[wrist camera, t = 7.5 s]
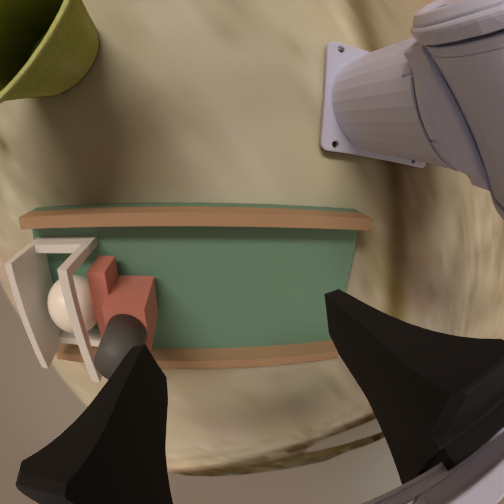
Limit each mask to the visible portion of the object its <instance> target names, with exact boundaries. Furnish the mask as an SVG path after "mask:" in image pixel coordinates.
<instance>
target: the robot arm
mask: <svg viewBox="0 0 504 504" xmlns="http://www.w3.org/2000/svg"><path fill="white" fill-rule="evenodd" d="M411 33H412V34H413V36H414V37H413V38H410V39H407V40H404V41H401V42H398V43H395V44H392V45H389V46H387V47H384V48H381V49H378V50H376V51H373V52H368V51H365V50H362V49H358V48H355V47H352V46H348V45H345V44H341V43H338V42H333V41H332V42H329V43H328V44H327V45H326V56H325V77H324V95H323V109H322V122H321V134H320V146H321V148H322V149H323V150H326V151H333V152H340V153H346V154H352V155H358V156H364V157H370V158H375V159H381V160H386V161H391V162H395V163H400V164H405V165H409V166H414V167H418V168H424V167H425V165H426V163H428V164H433V165H437V166H441V167H445V168H449V169H452V170H456V171H460V172H462V173H464V174H466V175H467V176H468V178H469V179H470V181H471V183H472V185H474V186H477V187H480V188H483V189H486V190H489V191H490V194H491V197H492V201H493V204H494V206H495V208H496V210H497V212H498V214H499V215H500V216H501V218H502V219H503V220H504V0H436V1H434V2H432V3H430V4H428V5H426V6H425V7H423V8H421V9H420V10H418V11H417V12H416V13H415V14H414V21H413V26H412V28H411ZM338 47H339V48H341V49H342V53H341V52H339V50H338ZM333 141H335V142H336V144H337V145H336V147H335V148H333V146H332V142H333ZM411 160H413V161H412V162H411ZM324 296H325V304H326V312H327V321H328V330H329V335H330V337H331V339H332V341H333V343H334V345H335V347H336V349H337V351H338V353H339V355H340V357H341V358H342V360H343V361H344V363H345V364H346V366H347V368H348V369H349V371H350V372H351V374H352V375H353V377H354V378H355V380H356V381H357V383H358V385H359V386H360V388H361V389H362V391H363V392H364V394H365V396H366V398H367V399H368V401H369V403H370V405H371V407H372V409H373V411H374V414H375V416H376V418H377V420H378V422H379V424H380V427H381V429H382V431H383V434H384V436H385V438H386V441H387V443H388V445H389V448H390V451H391V453H392V456H393V459H394V462H395V464H396V467H397V470H398V473H399V476H400V479H401V483H402V485H401V486H400V487H397V488H395V489H393V490H391V491H389V492H387V493H385V494H383V495H381V496H379V497H376V498H374V499H372V500H370V501H367V502H365V503H362V504H407V503H409V502H411V501H413V500H414V499H415V500H414V501H413V503H412V504H496V503H497V502H499V501H500V500H501V499H502V497H504V340H503V339H477V338H468V337H460V336H454V335H448V334H444V333H439V332H435V331H431V330H428V329H424V328H421V327H418V326H415V325H412V324H409V323H406V322H404V321H401V320H399V319H397V318H394V317H392V316H390V315H387V314H385V313H383V312H381V311H379V310H377V309H375V308H373V307H371V306H369V305H367V304H365V303H363V302H362V301H360V300H358V299H356V298H354V297H352V296H351V295H349V294H347V293H345V292H343V291H342V290H340V289H337V290H334V291H332V292H329V293H326V294H324ZM167 406H168V393H167V379H166V376H165V375H164V373H163V372H162V370H161V369H160V367H159V365H158V364H157V362H156V361H155V359H154V357H153V356H152V354H151V353H150V351H149V349H148V348H147V346H146V344H143V345H138V346H134V347H132V348H131V349H130V350H129V352H128V353H127V354H126V356H125V357H124V358H123V360H122V361H121V363H120V364H119V366H118V367H117V368H116V370H115V371H114V373H113V374H112V376H111V377H110V378H109V380H108V381H107V383H106V384H105V386H104V387H103V388H102V389H101V391H100V392H99V393H98V395H97V396H96V397H95V399H94V400H93V401H92V403H91V404H90V405H89V406H88V407H87V409H86V410H85V411H84V412H83V413H82V414H81V415H80V416H79V417H78V419H77V420H76V421H75V422H74V423H73V424H72V425H70V426H69V427H68V428H67V429H66V430H65V431H64V432H63V433H62V434H61V435H60V436H58V437H57V438H56V439H55V440H54V441H52V442H51V443H50V444H48V445H47V446H46V447H44V448H43V449H41V450H40V451H38V452H37V453H35V454H33V455H32V456H30V457H28V458H27V459H25V460H23V461H22V463H21V466H20V470H19V474H18V478H17V481H16V487H17V488H18V489H19V491H21V492H22V493H23V494H25V495H26V496H28V497H29V498H31V499H32V500H34V501H36V502H37V503H39V504H173V502H172V497H171V493H170V487H169V480H168V474H167V465H166V454H165V441H166V422H167Z"/></svg>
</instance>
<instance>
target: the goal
mask: <svg viewBox="0 0 504 504" xmlns="http://www.w3.org/2000/svg"><path fill="white" fill-rule="evenodd" d="M97 245H98V239H97V236H67V237H37V238H36V239H34V240H33V241H32V242H30V243H29V244H28V245H27V246H25V247H24V248H23V249H22V250H20V251H19V252H18V253H17V254H15V255H14V256H13V257H12V258H10V259H9V260H8V261H7V262H6V263H5V267H6V271H7V274H8V278H9V282H10V285H11V289H12V292H13V295H14V298H15V301H16V304H17V307H18V310H19V313H20V316H21V319H22V321H23V324H24V327H25V329H26V332H27V334H28V337H29V339H30V342H31V344H32V346H33V349H34V351H35V353H36V355H37V357H38V360H39V362H40V364H41V366H42V367H44V368H49V366H50V364H51V362H52V360H53V358H54V356H55V354H56V352H57V350H58V348H59V346H60V344H61V343H66V344H75V345H78V346H79V349H80V352H81V355H82V357H83V360H84V363H85V365H86V368H87V370H88V373H89V375H90V378H91V380H92V381H94V382H100V380H101V377H102V375H101V374H100V373H99V372H98V371H97V369H96V367H95V365H94V353H93V350H92V347H91V346H95V347H98V346H99V343H100V341H101V334H100V331H99V329H96V328H91V329H90V330H89V331H86V327H85V324H84V320H83V317H82V313H81V309H80V305H79V301H78V297H77V293H76V288H75V284H74V279H73V274H74V273H75V272H76V270H77V269H78V268H79V267H80V266H81V264H82V263H83V262H84V261H85V259H86V258H87V257H88V256H89V255H90V254H91V252H92V251H93V250H94V249H95V248H96V247H97ZM47 253H72V254H71V255H70V256H69V257H68V258H67V259H66V261H65V262H64V263H63V264H62V265H61V266H60V267H59V268H58V269H57V272H58V277H59V281H60V285H61V289H62V293H63V297H64V301H65V305H66V308H67V312H68V315H69V319H70V322H71V325H72V328H73V331H74V334H72V333H68V332H65V331H63V330H62V329H60V328H59V327H58V326H57V325H56V324H55V323H54V322H53V320H52V318H51V316H50V314H49V311H48V303H47V301H48V295H49V292H50V289H51V287H52V286H53V280H52V276H51V272H50V267H49V262H48V257H47Z"/></svg>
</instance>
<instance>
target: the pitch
mask: <svg viewBox="0 0 504 504" xmlns="http://www.w3.org/2000/svg"><path fill="white" fill-rule="evenodd" d="M19 221H20V228H21V229H32V230H33V237H34V239H36V238H37V237H67V236H97V239H98V245H97V247H96V248H95V249H94V250H93V251H92V252H91V254H90V255H89V256H88V257H87V258H86V259H85V261H84V262H83V263H82V264H81V266H80V267H79V268H78V269H77V270H76V272H75V273H74V274H73V275H79V276H82V277H85V278H87V273H86V272H87V271H88V269H89V268H90V267H91V265H92V264H93V263H94V261H95V260H96V259H97V257H98V256H115V257H116V265H117V272H118V276H119V275H124V276H154V278H155V288H156V298H157V307H158V318H157V323H156V328H155V333H154V338H153V344H152V349H151V351H150V353H151V354H152V356H153V357H154V359H155V361H156V362H157V364H158V365H159V367H160V368H179V369H203V368H237V367H255V366H269V365H281V364H291V363H300V362H309V361H317V360H325V359H332V358H337V356H338V351H337V349H336V347H335V345H334V343H333V341H332V339H331V337H330V335H329V330H328V321H327V312H326V304H325V296H324V294H326V293H329V292H332V291H334V290H337V289H340V290H342V291H343V292H345V291H346V287H347V283H348V278H349V274H350V269H351V265H352V260H353V255H354V250H355V245H356V240H357V235H358V230H370V228H371V222H372V219H371V218H369V217H368V216H366V215H364V214H362V213H360V212H359V211H357V210H355V209H343V208H328V207H311V206H292V205H269V204H237V203H126V204H95V205H74V206H56V207H41V208H35V209H33V210H32V211H30V212H28V213H26V214H25V215H23V216H21V217H19ZM71 254H72V253H47V257H48V262H49V267H50V272H51V276H52V280H53V284H54V283H55V282H56V281H57V280H59V277H58V272H57V269H58V268H59V267H60V266H61V265H62V264H63V263H64V262H65V261H66V259H67V258H68V257H69V256H70V255H71ZM93 328H96V329H99V327H98V323H96V324H95V326H94V327H93ZM91 347H92V350H93V353H94V356H95V354H96V351H97V349H98V347H95V346H91ZM56 354H57V357H58V359H62V360H69V361H76V362H84V360H83V357H82V355H81V352H80V349H79V346H78V345H75V344H66V343H61V344H60V346H59V348H58V350H57V352H56Z"/></svg>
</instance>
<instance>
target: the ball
mask: <svg viewBox="0 0 504 504" xmlns="http://www.w3.org/2000/svg"><path fill="white" fill-rule="evenodd" d="M73 279H74V284H75V288H76V293H77V297H78V301H79V305H80V309H81V313H82V317H83V320H84V324H85V327H86V331H89V330H90V329H91V328H93V327H94V326H95V324H96V323H97V319H96V315H95V311H94V307H93V302H92V298H91V293H90V289H89V284H88V279H87V278H85V277H82V276H79V275H73ZM47 303H48V311H49V314H50V316H51V318H52V320H53V322H54V323H55V324H56V325H57V326H58V327H59V328H60V329H62V330H63V331H65V332H68V333H72V334H74V331H73V328H72V325H71V322H70V319H69V315H68V312H67V308H66V305H65V301H64V297H63V293H62V289H61V285H60V281H59V280H57V281H56V282H55V283H54V284H53V286H52V287H51V289H50V292H49V295H48V301H47Z"/></svg>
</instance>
